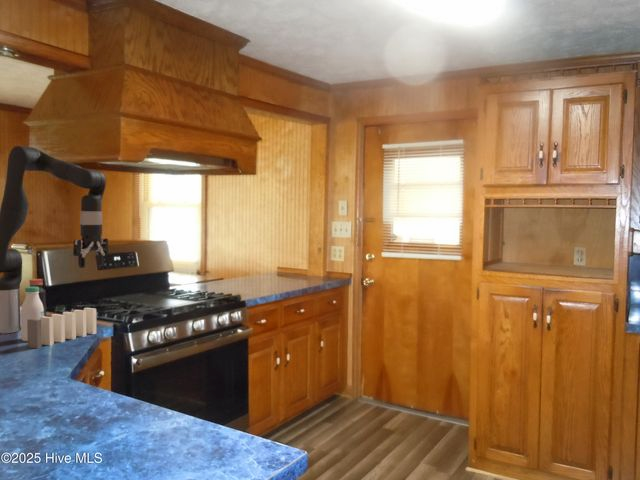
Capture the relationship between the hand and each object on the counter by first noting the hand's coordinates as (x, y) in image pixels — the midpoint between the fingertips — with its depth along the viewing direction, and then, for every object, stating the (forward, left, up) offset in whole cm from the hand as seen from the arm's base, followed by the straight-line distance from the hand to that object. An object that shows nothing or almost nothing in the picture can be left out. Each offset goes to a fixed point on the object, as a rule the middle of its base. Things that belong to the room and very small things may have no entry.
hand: (91, 266), depth 200 cm
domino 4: (-10, -2, -28) cm, 30 cm away
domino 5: (-10, +3, -28) cm, 30 cm away
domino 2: (-10, -12, -28) cm, 32 cm away
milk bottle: (-21, -9, -28) cm, 36 cm away
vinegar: (-39, +7, -28) cm, 49 cm away
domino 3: (-10, -7, -28) cm, 30 cm away
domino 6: (-10, +8, -28) cm, 31 cm away
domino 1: (-10, -17, -28) cm, 34 cm away
